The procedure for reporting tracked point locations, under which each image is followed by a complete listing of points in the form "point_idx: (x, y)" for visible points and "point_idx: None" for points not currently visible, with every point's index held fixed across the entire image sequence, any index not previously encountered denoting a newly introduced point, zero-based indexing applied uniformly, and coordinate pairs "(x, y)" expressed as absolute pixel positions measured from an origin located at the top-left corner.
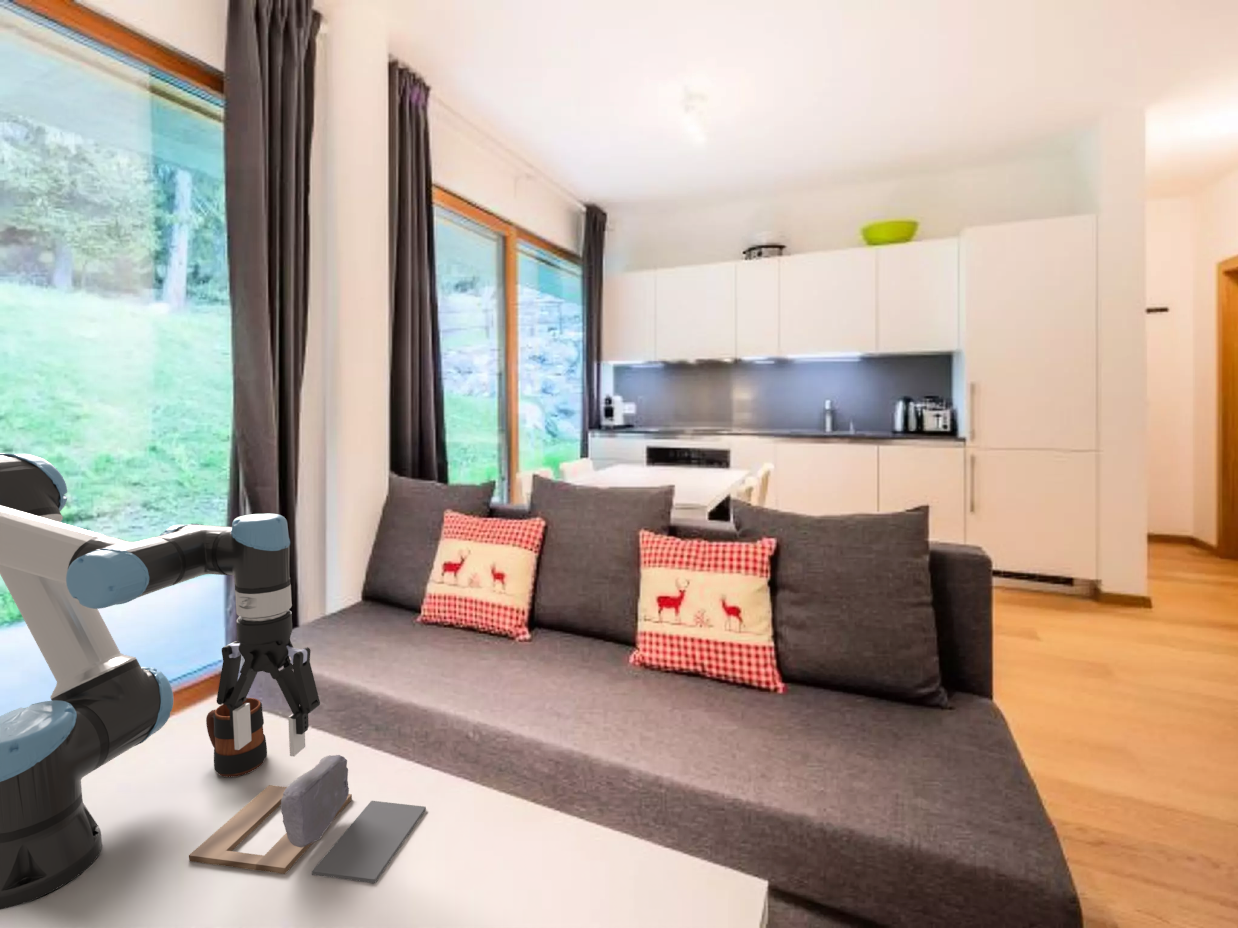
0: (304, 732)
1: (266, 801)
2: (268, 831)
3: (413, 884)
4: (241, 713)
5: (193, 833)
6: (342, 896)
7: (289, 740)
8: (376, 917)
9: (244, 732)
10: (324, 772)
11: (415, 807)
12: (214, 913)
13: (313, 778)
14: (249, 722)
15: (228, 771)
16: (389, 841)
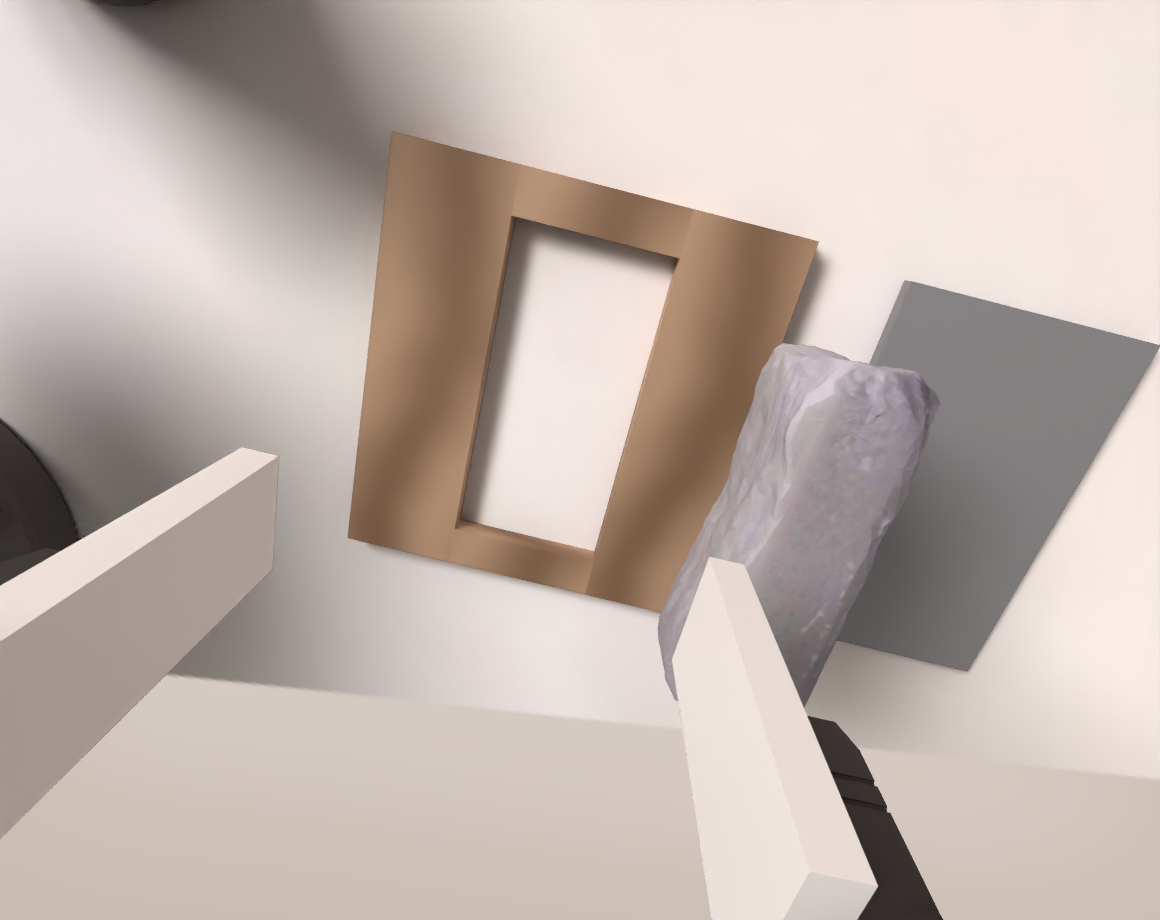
0: (773, 644)
1: (449, 265)
2: (537, 414)
3: (1075, 677)
4: (31, 756)
5: (273, 400)
6: (872, 692)
7: (688, 755)
8: (974, 757)
9: (210, 574)
10: (853, 585)
11: (1112, 346)
12: (551, 703)
13: (806, 636)
14: (164, 542)
15: (115, 2)
16: (1005, 528)
